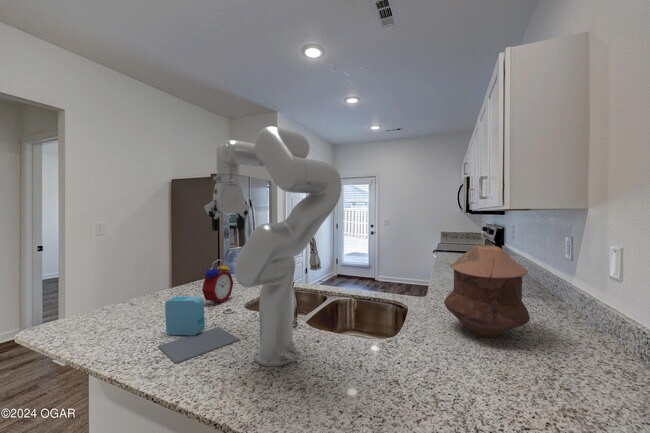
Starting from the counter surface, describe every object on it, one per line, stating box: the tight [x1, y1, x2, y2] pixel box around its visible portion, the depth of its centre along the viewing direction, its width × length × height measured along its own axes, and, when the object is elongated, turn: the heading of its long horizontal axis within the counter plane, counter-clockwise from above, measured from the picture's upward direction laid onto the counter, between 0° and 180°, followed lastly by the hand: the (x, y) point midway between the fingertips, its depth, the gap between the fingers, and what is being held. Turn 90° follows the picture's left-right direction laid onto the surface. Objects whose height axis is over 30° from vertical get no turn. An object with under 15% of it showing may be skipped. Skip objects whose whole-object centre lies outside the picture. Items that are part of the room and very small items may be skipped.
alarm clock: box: [201, 259, 234, 306], centre depth 137 cm, size 15×9×20 cm, turn 162°
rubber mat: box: [157, 326, 241, 365], centre depth 94 cm, size 15×20×1 cm
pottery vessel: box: [443, 244, 531, 338], centre depth 101 cm, size 26×26×30 cm
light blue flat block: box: [164, 296, 206, 336], centre depth 102 cm, size 12×4×12 cm, turn 81°
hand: (228, 229), depth 102 cm, fingers open, 9 cm apart
